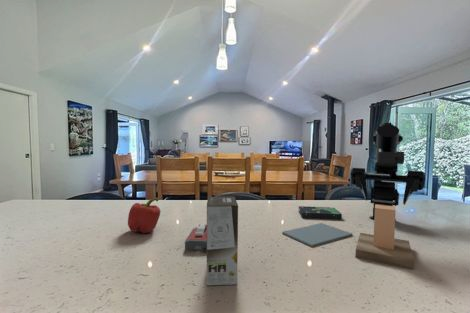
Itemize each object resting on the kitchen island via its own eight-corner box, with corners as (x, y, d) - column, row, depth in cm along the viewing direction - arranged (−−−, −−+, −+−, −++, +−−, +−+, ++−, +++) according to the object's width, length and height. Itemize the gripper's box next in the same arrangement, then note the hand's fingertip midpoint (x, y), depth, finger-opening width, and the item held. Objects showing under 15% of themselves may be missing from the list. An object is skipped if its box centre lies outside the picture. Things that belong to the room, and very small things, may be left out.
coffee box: (238, 285, 51) (239, 205, 50) (206, 286, 50) (206, 205, 49) (234, 263, 60) (235, 195, 59) (207, 264, 59) (207, 196, 59)
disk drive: (301, 219, 97) (342, 221, 96) (301, 212, 97) (342, 213, 95) (298, 212, 107) (334, 213, 106) (298, 205, 107) (334, 206, 106)
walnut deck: (359, 239, 76) (360, 232, 76) (408, 247, 70) (408, 240, 70) (355, 257, 64) (355, 249, 64) (413, 269, 58) (414, 260, 58)
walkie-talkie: (216, 255, 65) (223, 229, 85) (216, 238, 65) (223, 216, 85) (182, 254, 66) (197, 228, 85) (182, 237, 65) (197, 215, 85)
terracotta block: (374, 240, 70) (375, 204, 69) (393, 243, 68) (394, 206, 67) (373, 245, 66) (374, 207, 65) (393, 249, 64) (395, 210, 63)
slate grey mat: (321, 224, 89) (321, 223, 89) (352, 235, 79) (352, 233, 79) (282, 233, 80) (282, 231, 80) (311, 247, 70) (311, 244, 70)
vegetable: (149, 223, 89) (149, 195, 89) (169, 229, 83) (169, 199, 83) (120, 232, 80) (119, 200, 80) (139, 239, 74) (139, 205, 74)
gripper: (352, 142, 80) (346, 181, 71) (426, 142, 71) (430, 187, 62) (354, 165, 87) (349, 203, 78) (421, 168, 78) (424, 212, 69)
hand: (384, 201), depth 71 cm, fingers open, 9 cm apart
